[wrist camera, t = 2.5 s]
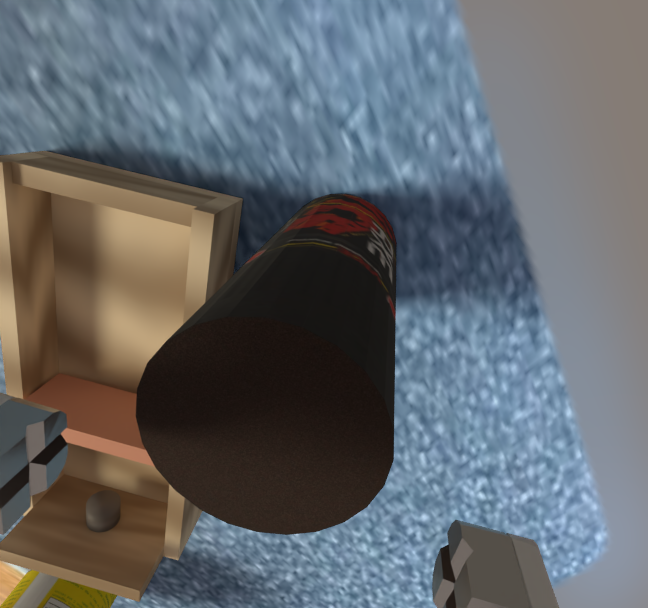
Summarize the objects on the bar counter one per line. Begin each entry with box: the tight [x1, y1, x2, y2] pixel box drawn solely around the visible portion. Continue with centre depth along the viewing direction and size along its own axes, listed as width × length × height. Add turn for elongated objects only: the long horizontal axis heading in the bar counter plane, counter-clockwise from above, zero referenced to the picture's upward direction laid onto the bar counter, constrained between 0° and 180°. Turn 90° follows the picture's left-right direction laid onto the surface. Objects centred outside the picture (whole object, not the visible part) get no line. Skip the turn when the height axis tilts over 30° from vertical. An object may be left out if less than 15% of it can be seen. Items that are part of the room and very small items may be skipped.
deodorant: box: [136, 194, 396, 535], centre depth 17 cm, size 6×6×15 cm
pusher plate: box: [25, 373, 155, 467], centre depth 26 cm, size 1×8×4 cm, turn 78°
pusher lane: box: [0, 151, 243, 601], centre depth 25 cm, size 23×11×7 cm, turn 168°
